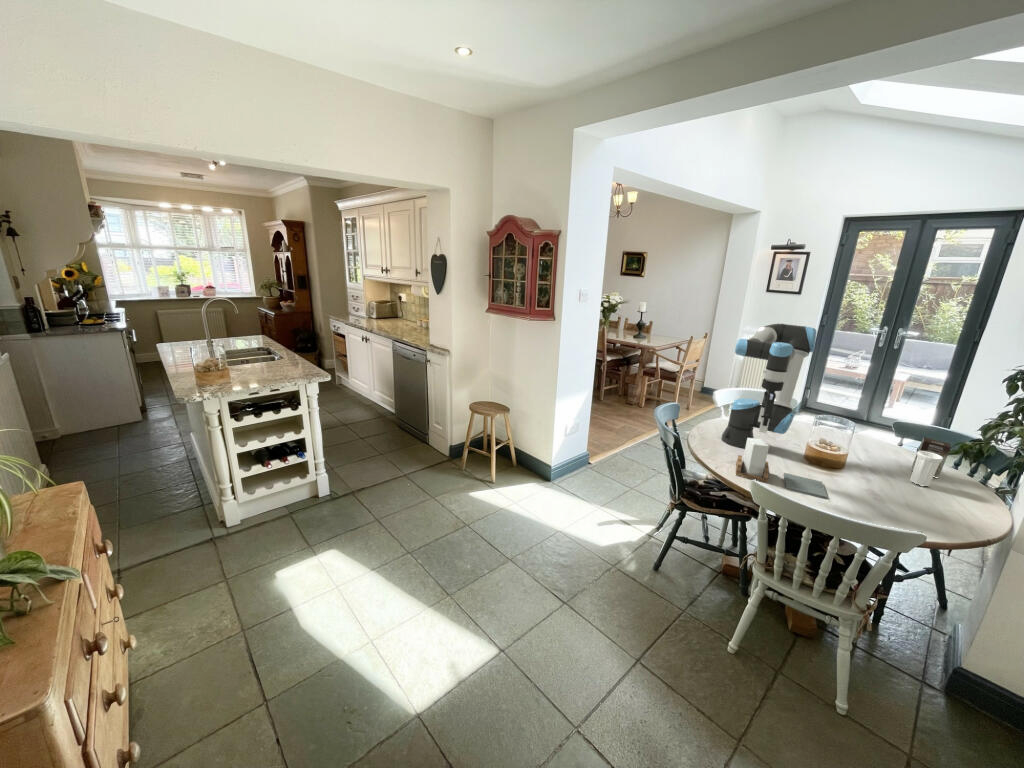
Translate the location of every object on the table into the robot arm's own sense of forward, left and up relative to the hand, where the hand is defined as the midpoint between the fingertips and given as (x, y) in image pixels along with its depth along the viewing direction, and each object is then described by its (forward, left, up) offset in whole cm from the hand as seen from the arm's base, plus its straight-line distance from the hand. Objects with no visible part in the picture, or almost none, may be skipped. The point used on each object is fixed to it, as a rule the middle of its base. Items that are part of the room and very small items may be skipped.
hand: (762, 427), depth 178 cm
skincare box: (0, 0, -23) cm, 23 cm away
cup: (-32, +66, -23) cm, 77 cm away
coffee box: (-47, +72, -23) cm, 89 cm away
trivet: (0, +20, -23) cm, 30 cm away
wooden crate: (0, 0, -23) cm, 23 cm away
